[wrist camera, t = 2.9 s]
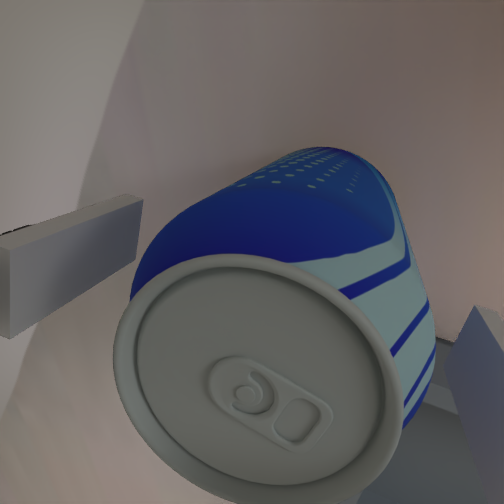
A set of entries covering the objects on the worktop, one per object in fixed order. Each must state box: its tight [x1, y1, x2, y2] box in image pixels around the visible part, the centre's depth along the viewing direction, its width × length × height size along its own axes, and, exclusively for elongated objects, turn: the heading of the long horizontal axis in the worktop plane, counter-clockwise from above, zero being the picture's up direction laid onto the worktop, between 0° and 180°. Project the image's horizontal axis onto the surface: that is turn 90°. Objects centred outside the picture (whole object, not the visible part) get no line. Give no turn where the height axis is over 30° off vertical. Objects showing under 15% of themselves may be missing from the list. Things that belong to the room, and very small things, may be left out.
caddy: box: [337, 337, 488, 504], centre depth 23 cm, size 14×18×5 cm
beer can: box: [113, 147, 436, 504], centre depth 16 cm, size 8×8×16 cm
